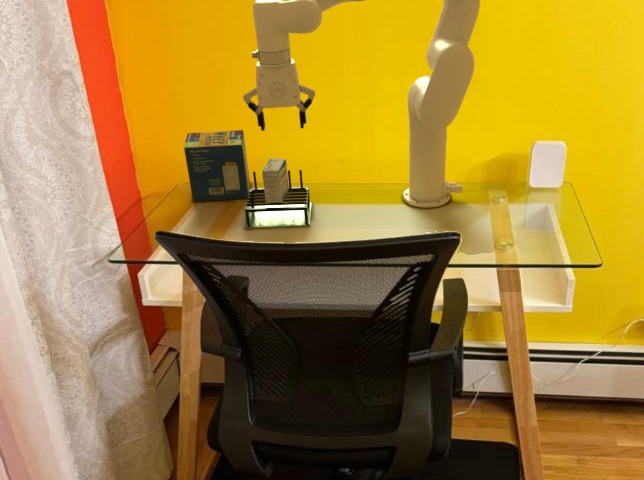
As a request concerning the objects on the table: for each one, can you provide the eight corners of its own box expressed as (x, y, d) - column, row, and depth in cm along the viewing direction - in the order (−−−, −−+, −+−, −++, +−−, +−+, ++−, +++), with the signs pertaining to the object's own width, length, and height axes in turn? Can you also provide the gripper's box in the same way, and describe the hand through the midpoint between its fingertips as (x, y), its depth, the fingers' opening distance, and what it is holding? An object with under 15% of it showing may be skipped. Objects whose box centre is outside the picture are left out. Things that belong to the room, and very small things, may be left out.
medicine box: (282, 203, 198) (279, 171, 193) (265, 203, 199) (261, 170, 193) (289, 190, 204) (286, 158, 199) (272, 189, 205) (269, 157, 200)
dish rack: (311, 204, 210) (309, 168, 204) (309, 226, 200) (307, 189, 193) (250, 206, 210) (245, 170, 204) (245, 229, 200) (240, 191, 194)
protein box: (195, 186, 222) (186, 132, 212) (250, 182, 222) (243, 129, 213) (192, 202, 213) (182, 147, 204) (249, 198, 214) (242, 144, 204)
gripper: (236, 63, 180) (246, 135, 190) (311, 58, 180) (317, 131, 190) (239, 53, 186) (249, 124, 196) (312, 49, 186) (318, 120, 196)
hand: (282, 127), depth 193 cm, fingers open, 9 cm apart
